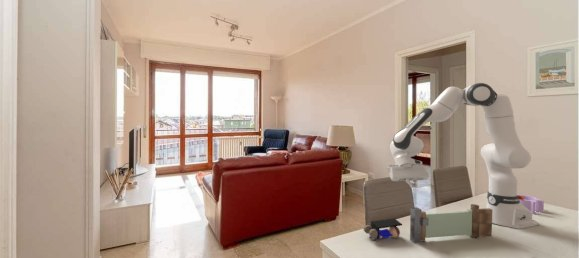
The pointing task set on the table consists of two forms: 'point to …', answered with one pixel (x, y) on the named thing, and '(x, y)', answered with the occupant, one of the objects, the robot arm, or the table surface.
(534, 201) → the clip
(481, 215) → the wooden hinge block
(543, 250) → the table surface
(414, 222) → the latch post
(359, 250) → the table surface
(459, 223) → the gate
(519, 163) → the robot arm
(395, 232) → the figurine character
